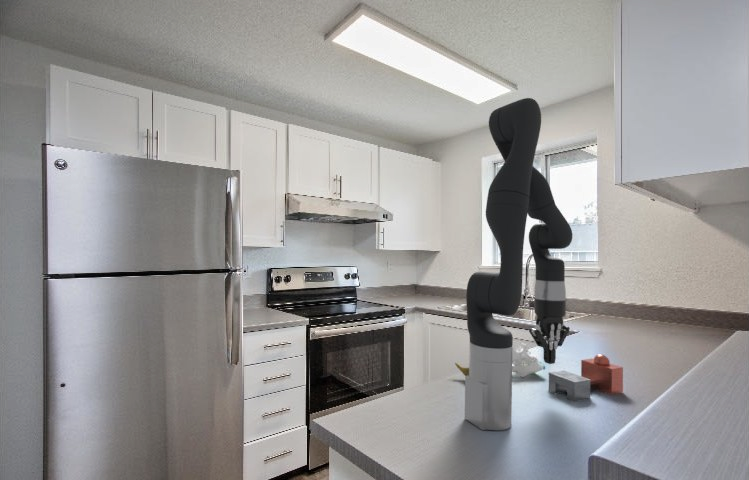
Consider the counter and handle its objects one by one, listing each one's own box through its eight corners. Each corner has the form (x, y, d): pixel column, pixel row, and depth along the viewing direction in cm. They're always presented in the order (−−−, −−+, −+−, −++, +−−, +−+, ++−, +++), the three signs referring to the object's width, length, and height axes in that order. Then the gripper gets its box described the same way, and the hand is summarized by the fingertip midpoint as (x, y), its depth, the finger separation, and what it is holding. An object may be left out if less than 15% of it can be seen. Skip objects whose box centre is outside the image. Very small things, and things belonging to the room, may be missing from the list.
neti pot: (497, 392, 100) (497, 367, 101) (450, 377, 111) (451, 355, 111) (504, 388, 103) (505, 364, 104) (458, 374, 114) (459, 353, 114)
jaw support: (541, 372, 108) (516, 344, 113) (518, 390, 111) (495, 362, 116) (551, 363, 118) (528, 338, 123) (530, 380, 121) (508, 355, 126)
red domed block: (597, 398, 98) (597, 361, 98) (567, 386, 106) (567, 353, 106) (622, 392, 102) (622, 358, 103) (592, 382, 111) (592, 350, 111)
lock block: (574, 401, 95) (574, 382, 95) (548, 390, 102) (548, 372, 103) (590, 398, 98) (590, 379, 98) (563, 388, 105) (563, 370, 105)
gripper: (543, 300, 92) (543, 370, 91) (579, 298, 97) (579, 364, 97) (520, 296, 99) (520, 361, 98) (555, 294, 104) (555, 356, 104)
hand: (549, 362), depth 98 cm, fingers closed
